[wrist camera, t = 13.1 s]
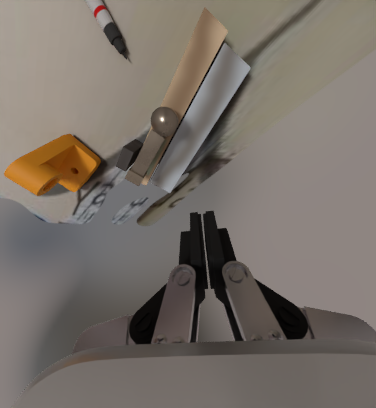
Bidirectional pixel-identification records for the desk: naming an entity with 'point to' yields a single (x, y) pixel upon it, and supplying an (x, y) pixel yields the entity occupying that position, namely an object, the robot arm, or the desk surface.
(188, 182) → the desk surface
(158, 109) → the door handle
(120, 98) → the desk surface
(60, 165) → the bracket
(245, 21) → the desk surface
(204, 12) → the doorframe
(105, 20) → the marker
